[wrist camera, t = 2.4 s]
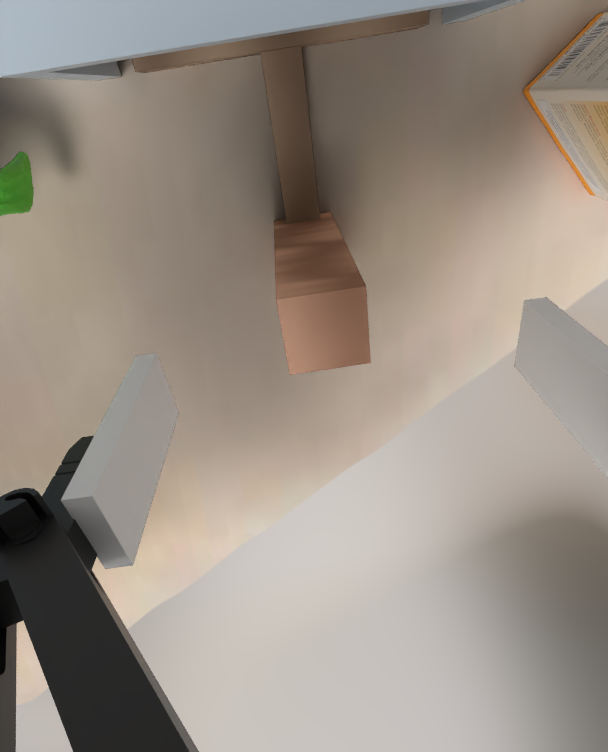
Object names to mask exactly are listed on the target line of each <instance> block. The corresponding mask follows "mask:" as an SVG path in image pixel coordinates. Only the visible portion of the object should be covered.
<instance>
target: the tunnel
mask: <svg viewBox="0 0 608 752" xmlns="http://www.w3.org/2000/svg"><path fill="white" fill-rule="evenodd" d="M523 1H526V0H0V77H1V78H34V79H67V80H104V79H111V78H117V77H121V74H120V71H119V67H118V64H117V61H120V60H126V59H132V58H138V57H144V56H151V55H157V54H163V53H169V52H175V51H181V50H187V49H193V48H199V47H206V46H212V45H218V44H224V43H230V42H236V41H242V40H248V39H254V38H260V37H267V36H273V35H279V34H285V33H291V32H297V31H303V30H309V29H315V28H321V27H328V26H334V25H340V24H346V23H352V22H358V21H364V20H370V19H376V18H383V17H389V16H395V15H401V14H407V13H413V12H419V11H425V10H431V9H437V8H442V24H448V23H454V22H460V21H466V20H469V19H472V18H475V17H478V16H481V15H484V14H487V13H490V12H493V11H496V10H499V9H502V8H505V7H508V6H511V5H514V4H517V3H520V2H523Z"/></svg>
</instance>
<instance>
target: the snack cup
mask: <svg viewBox="0 0 608 752" xmlns="http://www.w3.org/2000/svg"><path fill="white" fill-rule="evenodd" d="M32 203H33V185H32V176H31V167H30V161H29V158H28V155H27V154H26V153H24V152H19V153H18V154H17V156H16V157H15V158H14V159H13V160H12V161H11V162H10V163H8V164H7V165H6V166H5V167H4V168H2V169H0V216H2V215H6V214H14V213H24V212H29V211H30V209H31V207H32Z"/></svg>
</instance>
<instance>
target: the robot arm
mask: <svg viewBox="0 0 608 752" xmlns="http://www.w3.org/2000/svg"><path fill="white" fill-rule="evenodd" d="M514 366H515V368H516V369H517V370H518V371H519V373H520V374H521V375H522V376H523V377H524V379H525V380H526V381H527V382H528V383H529V385H530V386H531V387H532V388H533V389H534V391H535V392H536V393H537V394H538V395H539V397H540V398H541V399H542V400H543V401H544V403H545V404H546V405H547V406H548V407H549V409H550V410H551V411H552V412H553V413H554V415H555V416H556V417H557V418H558V419H559V420H560V422H561V423H562V424H563V425H564V426H565V428H566V429H567V430H568V431H569V432H570V434H571V435H572V436H573V437H574V438H575V440H576V441H577V442H578V443H579V444H580V446H581V447H582V448H583V449H584V450H585V452H586V453H587V454H588V455H589V456H590V457H591V459H592V460H593V461H594V462H595V464H596V465H597V466H598V467H599V468H600V470H601V471H602V472H603V473H604V474H605V476H606V477H607V478H608V346H607V345H606V344H604V343H603V342H602V341H601V340H599V339H598V338H597V337H596V336H594V335H593V334H592V333H591V332H589V331H588V330H587V329H586V328H584V327H583V326H582V325H581V324H579V323H578V322H577V321H575V320H574V319H573V318H572V317H570V316H569V315H568V314H567V313H566V312H564V311H563V310H562V309H560V308H559V307H558V306H557V305H555V304H554V303H553V302H552V301H550V300H549V299H548V298H547V297H545V298H538V299H531V300H524V306H523V312H522V319H521V325H520V332H519V338H518V345H517V351H516V358H515V365H514ZM178 414H179V412H178V409H177V406H176V403H175V401H174V398H173V395H172V393H171V390H170V387H169V385H168V382H167V379H166V376H165V374H164V371H163V368H162V366H161V363H160V360H159V358H158V355H157V353H153V354H146V355H138V356H136V357H135V359H134V361H133V362H132V364H131V366H130V368H129V370H128V372H127V374H126V376H125V378H124V380H123V382H122V384H121V385H120V387H119V389H118V391H117V393H116V395H115V397H114V399H113V401H112V403H111V405H110V407H109V408H108V410H107V412H106V414H105V416H104V418H103V420H102V422H101V424H100V426H99V428H98V430H97V431H96V433H95V435H94V436H88V437H82V438H81V439H80V440H79V441H78V442H77V443H76V444H74V445H73V446H72V447H71V448H70V449H69V451H68V452H67V454H66V456H65V458H64V459H63V461H62V465H60V466H59V468H58V470H57V472H56V473H55V474H56V476H54V477H53V479H52V480H51V482H50V484H49V486H48V487H47V489H46V491H45V493H44V494H43V496H42V497H41V495H40V494H39V493H38V492H37V491H36V490H35V489H30V488H23V489H18V490H14V491H12V492H10V493H7V494H5V495H3V496H1V497H0V752H15V746H16V738H15V737H16V625H17V623H18V622H20V621H23V620H24V623H25V625H26V628H27V631H28V633H29V636H30V639H31V641H32V644H33V646H34V649H35V652H36V654H37V657H38V660H39V662H40V665H41V668H42V670H43V673H44V676H45V678H46V681H47V683H48V686H49V689H50V691H51V694H52V697H53V699H54V702H55V704H56V707H57V710H58V712H59V715H60V718H61V720H62V723H63V726H64V728H65V731H66V734H67V736H68V739H69V741H70V744H71V747H72V749H73V752H199V751H198V750H197V748H196V746H195V744H194V743H193V741H192V739H191V738H190V736H189V734H188V732H187V731H186V729H185V727H184V726H183V724H182V722H181V721H180V719H179V717H178V715H177V714H176V712H175V710H174V709H173V707H172V705H171V703H170V702H169V700H168V698H167V697H166V695H165V693H164V692H163V690H162V688H161V686H160V685H159V683H158V681H157V680H156V678H155V676H154V675H153V673H152V671H151V670H150V668H149V666H148V664H147V663H146V661H145V659H144V658H143V656H142V654H141V652H140V651H139V649H138V647H137V646H136V644H135V642H134V641H133V639H132V637H131V635H130V634H129V632H128V630H127V629H126V627H125V625H124V624H123V622H122V620H121V618H120V617H119V615H118V613H117V612H116V610H115V608H114V607H113V605H112V603H111V601H110V600H109V598H108V596H107V595H106V593H105V591H104V590H103V588H102V586H101V584H100V583H99V581H98V579H97V578H96V576H95V575H94V573H93V572H92V567H93V565H94V562H95V559H96V557H98V559H99V560H100V562H101V563H102V565H103V566H104V568H105V569H108V568H116V567H124V566H132V565H133V564H134V560H135V557H136V554H137V550H138V547H139V544H140V540H141V537H142V534H143V530H144V527H145V524H146V520H147V517H148V514H149V510H150V507H151V504H152V500H153V497H154V494H155V490H156V487H157V484H158V480H159V477H160V474H161V470H162V467H163V464H164V460H165V457H166V454H167V450H168V447H169V444H170V441H171V437H172V434H173V431H174V427H175V424H176V421H177V417H178Z"/></svg>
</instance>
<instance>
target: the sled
mask: <svg viewBox="0 0 608 752" xmlns="http://www.w3.org/2000/svg"><path fill="white" fill-rule="evenodd" d="M427 24H429V10H425V11H419V12H413V13H407V14H401V15H395V16H389V17H383V18H376V19H370V20H364V21H358V22H352V23H346V24H340V25H334V26H328V27H321V28H315V29H309V30H303V31H297V32H291V33H285V34H279V35H273V36H267V37H260V38H254V39H248V40H242V41H236V42H230V43H224V44H218V45H212V46H206V47H199V48H193V49H187V50H181V51H175V52H169V53H163V54H157V55H151V56H144V57H138V58H132V62H133V65H134V69H135V72H142V73H147V72H153V71H160V70H166V69H172V68H178V67H184V66H190V65H196V64H203V63H209V62H215V61H221V60H227V59H233V58H239V57H245V56H252V55H258V54H261V59H262V66H263V72H264V79H265V86H266V92H267V99H268V105H269V112H270V118H271V125H272V131H273V138H274V144H275V151H276V158H277V164H278V171H279V177H280V184H281V190H282V197H283V203H284V210H285V216H286V219H283V220H276V221H274V241H275V278H276V302H277V308H278V313H279V318H280V324H281V329H282V335H283V340H284V346H285V351H286V357H287V362H288V368H289V373H290V375H291V374H298V373H305V372H312V371H319V370H325V369H332V368H339V367H346V366H352V365H359V364H366V363H371V361H370V345H369V328H368V311H367V295H366V285H365V283H364V281H363V279H362V277H361V275H360V273H359V271H358V268H357V266H356V264H355V262H354V260H353V258H352V256H351V254H350V252H349V250H348V248H347V245H346V243H345V241H344V239H343V237H342V235H341V233H340V231H339V229H338V227H337V224H336V222H335V220H334V218H333V216H332V214H331V212H328V213H321V214H320V212H319V203H318V194H317V185H316V176H315V167H314V158H313V149H312V140H311V131H310V122H309V113H308V104H307V95H306V86H305V77H304V68H303V59H302V50H301V47H307V46H313V45H319V44H325V43H331V42H337V41H344V40H350V39H356V38H362V37H368V36H374V35H380V34H386V33H393V32H399V31H405V30H411V29H417V28H420V27H422V26H425V25H427Z"/></svg>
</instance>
